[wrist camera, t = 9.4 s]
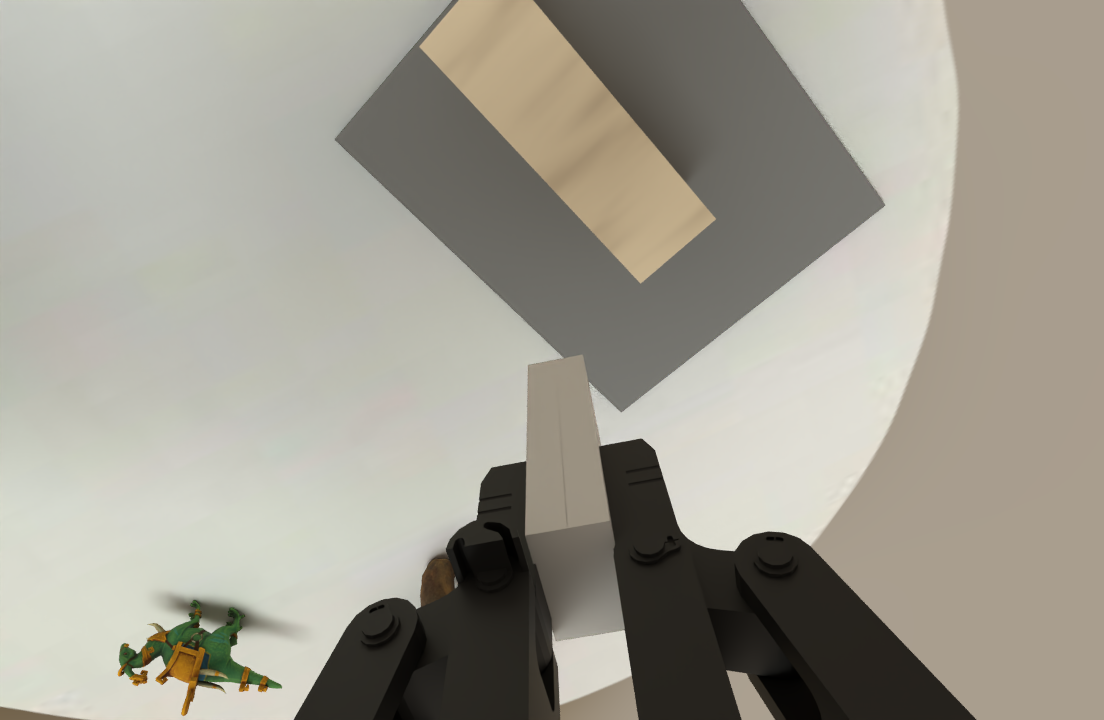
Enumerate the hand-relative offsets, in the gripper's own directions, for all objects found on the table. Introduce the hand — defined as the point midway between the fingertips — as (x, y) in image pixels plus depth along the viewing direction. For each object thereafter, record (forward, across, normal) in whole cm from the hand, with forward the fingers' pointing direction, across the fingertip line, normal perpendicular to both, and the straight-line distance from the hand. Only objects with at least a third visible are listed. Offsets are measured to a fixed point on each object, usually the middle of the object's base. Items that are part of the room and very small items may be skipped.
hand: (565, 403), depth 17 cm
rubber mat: (+21, -4, -2) cm, 22 cm away
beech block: (+17, -6, +1) cm, 18 cm away
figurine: (+22, +32, +27) cm, 47 cm away
